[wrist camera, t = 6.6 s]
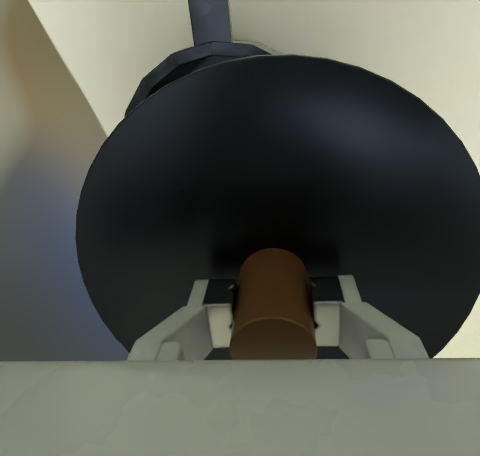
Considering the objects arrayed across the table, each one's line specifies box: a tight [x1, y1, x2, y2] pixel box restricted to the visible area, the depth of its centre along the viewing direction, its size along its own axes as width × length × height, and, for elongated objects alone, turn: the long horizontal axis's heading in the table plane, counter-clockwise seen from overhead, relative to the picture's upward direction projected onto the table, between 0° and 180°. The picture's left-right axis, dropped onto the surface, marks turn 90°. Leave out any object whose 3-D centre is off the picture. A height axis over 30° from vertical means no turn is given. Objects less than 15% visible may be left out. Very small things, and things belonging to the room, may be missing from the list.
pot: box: [125, 0, 282, 117], centre depth 32 cm, size 15×20×12 cm
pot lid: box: [76, 54, 480, 360], centre depth 13 cm, size 16×16×5 cm
